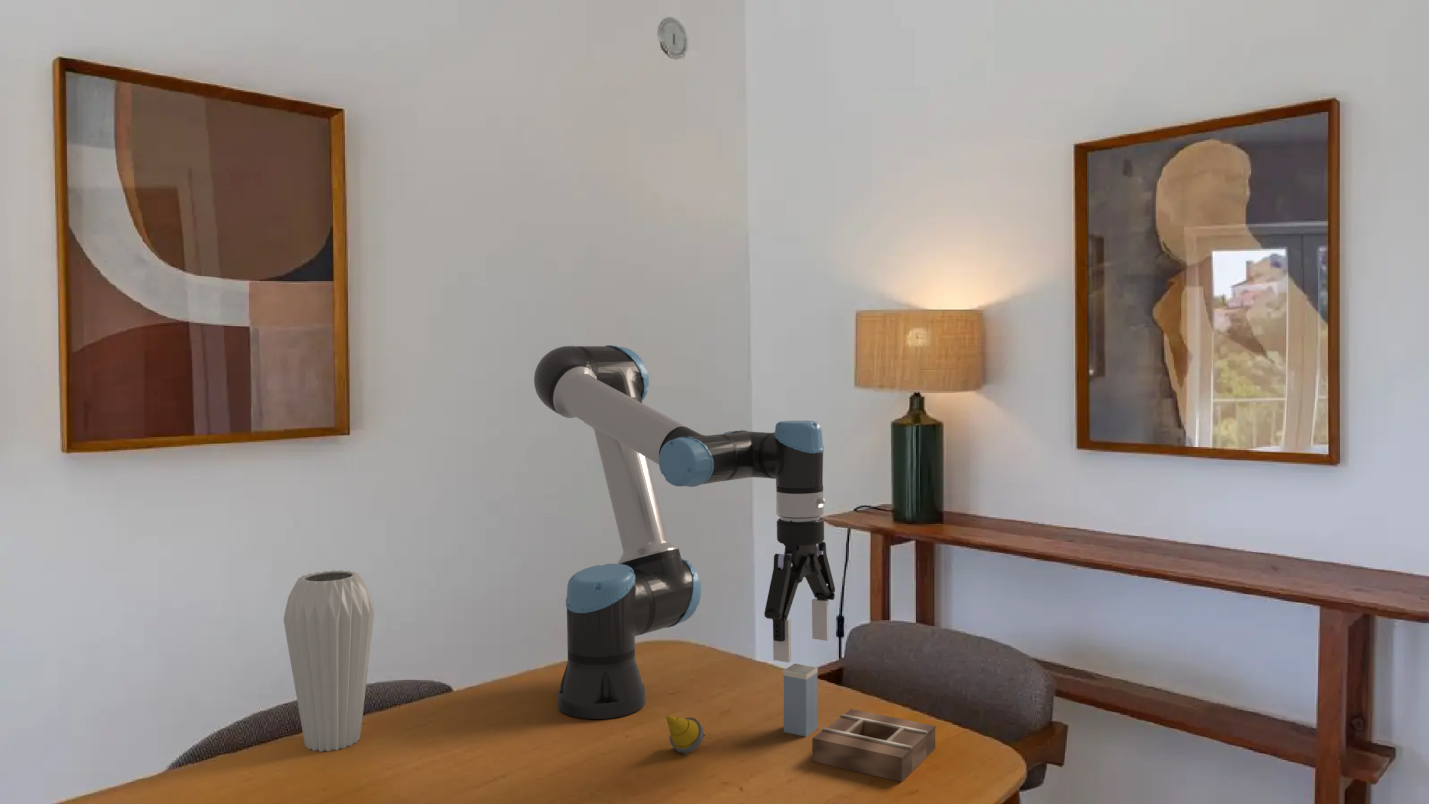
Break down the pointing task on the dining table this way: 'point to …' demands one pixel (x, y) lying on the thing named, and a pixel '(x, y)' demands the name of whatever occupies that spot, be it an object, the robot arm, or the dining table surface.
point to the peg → (800, 699)
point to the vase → (330, 655)
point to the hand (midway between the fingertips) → (802, 649)
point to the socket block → (874, 744)
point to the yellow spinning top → (685, 733)
